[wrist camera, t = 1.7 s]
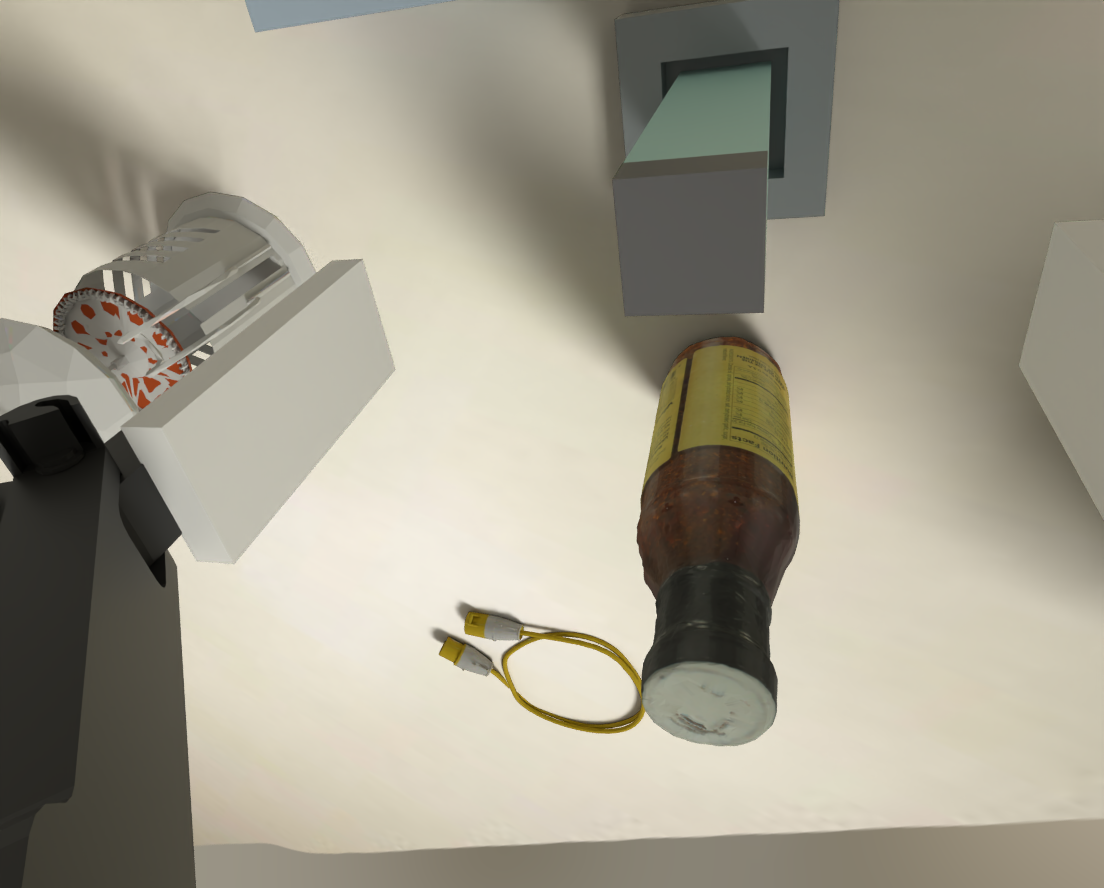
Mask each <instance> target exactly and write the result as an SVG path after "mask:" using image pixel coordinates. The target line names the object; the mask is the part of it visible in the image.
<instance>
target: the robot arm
mask: <svg viewBox="0 0 1104 888" xmlns="http://www.w3.org/2000/svg"><path fill="white" fill-rule="evenodd" d="M1019 367H1020V369H1021V371H1022V373H1023V375H1024V376H1025V378H1026V380H1027V382H1028V384H1029V386H1030V387H1031V389H1032V391H1033V393H1034V395H1035V397H1036V398H1037V400H1038V402H1039V404H1040V406H1041V407H1042V409H1043V411H1044V413H1045V415H1046V417H1047V418H1048V420H1049V422H1050V424H1051V426H1052V427H1053V429H1054V431H1055V433H1056V435H1057V437H1058V438H1059V440H1060V442H1061V444H1062V446H1063V448H1064V449H1065V451H1066V453H1067V455H1068V457H1069V458H1070V460H1071V462H1072V464H1073V466H1074V468H1075V469H1076V471H1077V473H1078V475H1079V477H1080V479H1081V480H1082V482H1083V484H1084V486H1085V488H1086V489H1087V491H1088V493H1089V495H1090V497H1091V499H1092V500H1093V502H1094V504H1095V506H1096V508H1097V510H1098V511H1099V513H1100V515H1101V517H1102V519H1103V520H1104V219H1103V220H1084V221H1065V222H1055V223H1054V227H1053V231H1052V235H1051V239H1050V243H1049V247H1048V251H1047V255H1046V259H1045V263H1044V267H1043V271H1042V275H1041V279H1040V283H1039V287H1038V291H1037V295H1036V299H1035V303H1034V307H1033V311H1032V315H1031V319H1030V323H1029V327H1028V331H1027V335H1026V339H1025V343H1024V347H1023V351H1022V355H1021V359H1020V363H1019ZM395 370H396V369H395V366H394V362H393V359H392V355H391V352H390V349H389V345H388V342H387V339H386V335H385V332H384V329H383V325H382V322H381V319H380V315H379V312H378V308H377V305H376V302H375V298H374V295H373V292H372V288H371V285H370V282H369V278H368V275H367V272H366V268H365V265H364V261H363V259H354V260H335V261H331V262H330V263H328V264H327V265H326V266H325V267H323V268H322V269H321V270H320V271H318V272H317V273H316V274H314V275H313V276H312V277H311V278H309V279H308V280H307V281H305V282H304V283H303V284H302V285H300V286H299V287H298V288H297V289H295V290H294V291H293V292H291V293H290V294H289V295H288V296H286V297H285V298H284V299H283V300H281V301H280V302H279V303H277V304H276V305H275V306H274V307H272V308H271V309H270V310H269V311H267V312H266V313H265V314H263V315H262V316H261V317H260V318H258V319H257V320H256V321H254V322H253V323H252V324H251V325H249V326H248V327H247V328H246V329H244V330H243V331H242V332H240V333H239V334H238V335H237V336H235V337H234V338H233V339H232V340H230V341H229V342H228V343H226V344H225V345H224V346H223V347H221V348H220V349H219V350H217V351H216V352H215V353H214V354H212V355H211V356H210V357H209V358H207V359H206V360H205V361H203V362H202V363H201V364H200V365H198V366H197V367H196V368H195V369H193V370H192V371H191V372H189V373H188V374H187V375H186V376H184V377H183V378H182V379H181V380H179V381H178V382H177V383H175V384H174V385H173V386H172V387H170V388H169V389H168V390H166V391H165V392H164V393H163V394H161V395H160V396H159V397H158V398H156V399H155V400H154V401H152V402H151V403H150V404H149V405H147V406H146V407H145V408H144V409H142V410H141V411H140V412H138V413H137V414H136V415H135V416H133V417H132V418H131V419H130V420H128V421H127V422H126V423H124V424H123V425H122V426H121V427H120V428H121V431H119V432H118V433H117V434H115V435H114V436H113V437H112V438H110V439H109V440H108V441H107V442H105V443H104V442H103V440H102V438H101V437H100V435H99V433H98V432H97V430H96V428H95V427H94V425H93V423H92V421H91V420H90V418H89V416H88V415H87V413H86V411H85V410H84V408H83V406H82V405H81V403H80V401H79V400H78V398H77V397H75V396H71V395H56V396H51V397H46V398H42V399H38V400H35V401H32V402H29V403H27V404H24V405H21V406H19V407H17V408H15V409H13V410H11V411H9V412H7V413H5V414H3V415H1V416H0V458H1V460H2V461H3V462H4V464H5V465H6V467H7V468H8V470H9V471H10V472H11V474H12V475H13V477H14V478H13V481H11V482H5V483H0V888H196V880H195V863H194V846H193V829H192V813H191V796H190V779H189V762H188V745H187V729H186V712H185V695H184V678H183V662H182V645H181V628H180V611H179V594H178V578H177V566H176V564H175V562H174V560H173V558H172V556H171V555H170V553H169V551H168V550H167V549H168V548H169V547H170V546H171V545H172V544H173V543H174V542H175V540H176V539H177V538H178V537H179V536H180V535H182V537H183V538H184V540H185V542H186V544H187V545H188V547H189V549H190V551H191V552H192V554H193V556H194V558H195V559H196V561H200V562H212V563H224V564H235V563H236V561H237V560H238V559H239V558H240V557H241V555H242V554H243V553H244V552H245V551H246V549H247V548H248V547H249V546H250V544H251V543H252V542H253V541H254V540H255V538H256V537H257V536H258V535H259V534H260V532H261V531H262V530H263V529H264V528H265V526H266V525H267V524H268V523H269V522H270V520H271V519H272V518H273V517H274V516H275V514H276V513H277V512H278V511H279V510H280V508H281V507H282V506H283V505H284V503H285V502H286V501H287V500H288V499H289V497H290V496H291V495H292V494H293V493H294V491H295V490H296V489H297V488H298V487H299V485H300V484H301V483H302V482H303V481H304V479H305V478H306V477H307V476H308V475H309V473H310V472H311V471H312V470H313V469H314V467H315V466H316V465H317V464H318V462H319V461H320V460H321V459H322V458H323V456H324V455H325V454H326V453H327V452H328V450H329V449H330V448H331V447H332V446H333V444H334V443H335V442H336V441H337V440H338V438H339V437H340V436H341V435H342V434H343V432H344V431H345V430H346V429H347V428H348V426H349V425H350V424H351V423H352V421H353V420H354V419H355V418H356V417H357V415H358V414H359V413H360V412H361V411H362V409H363V408H364V407H365V406H366V405H367V403H368V402H369V401H370V400H371V399H372V397H373V396H374V395H375V394H376V393H377V391H378V390H379V389H380V388H381V387H382V385H383V384H384V383H385V382H386V380H387V379H388V378H389V377H390V376H391V374H392V373H393V372H394V371H395Z"/></svg>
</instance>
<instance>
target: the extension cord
mask: <svg viewBox="0 0 1104 888" xmlns="http://www.w3.org/2000/svg"><path fill="white" fill-rule="evenodd" d="M464 630H465V634H468V635H473V636H477V637H482V638H486V639H491V640H493V641H496V640H518V641H520V640H521V638H522V636H523V635H524V636H530V637H532V638H529V639H527V640H525V641H523V642H521V643H519V644H517V645H516V646H514V647H513V648H511V649H510V650H509V651H508V652H507V653H506V654H505V656H504V658H503V661H502V666H503V671H504V674H505V677H506V679H507V682H508V683H507V682H506V680H505V679H504V677H503V676H501V675H500V674H499V673H498V672H497V671H495V670H494V669H492V667H493V662H491V661H490V660H489V659H488V658H486V657H485V656H484V655H483V654H481V653H480V652H479V651H477V650H476V649H475V648H473V647H471V646H469V645H467V644H465V643H464V644H462V643H460V642H458V641H456V640H454V639H452V638H450V637H448V638H447V641H445V642H444V644H443V646H442V648H441V650H440V652H439V655H440V656H442V657H444V658H446V659H448V660H450V661H452V662H454V665H456V666H458V667H460V668H461V669H463V671H464V669H465V670H467V671H470V672H473V673H477V674H481V675H485V676H488V675H489V673H490V672H491V673H492V674H493V675H495V676H496V677H497V678H498V679H499V680H500V681H502V682H503V683H504V684H505V685H506V686H507V687H508V688H510V689H511V691H512V694H513V696H514V697H515V699H516V700H517V702H518V703H519V704H521V705H522V706H523V707H524V708H526V709H527V710H528V711H530V712H532V713H533V714H535V715H537V716H539V717H541V718H543V719H545V720H548V721H550V722H553V723H555V724H558V725H561V726H564V727H568V728H572V729H576V730H580V731H585V732H592V733H606V734H610V733H620V732H624V731H627V730H630V729H631V728H633V727H635V726H636V725H637V724H638V723H639V722H640V721H641V719H642V718H643V716H644V713H645V708H644V706H643V704H642V696H641V682H642V680H641V678H640V677H639V675H638V673H637V672H636V670H635V669H634V668H633V666H632V665H631V664H630V662H629V661H628V660H627V659H626V658H625V656H624V655H623V654H622V653H621V652H620V651H619V650H618V649H616V648H615V647H614V646H612V645H611V644H609V643H607V642H605V641H603V640H601V639H598V638H596V637H593V636H589V635H585V634H580V633H572V632H554V633H547V634H541V633H535V632H529V631H524V627H523V625H522V624H521V625H520V624H518V623H516V622H514V621H511V620H508V619H505V618H502V617H499V616H494V615H488V614H482V613H476V612H469V613H468V615H467V617H466V620H465V626H464ZM565 637H576V638H582V639H586V640H590V641H593V642H596V643H598V644H601V645H603V646H605V647H607V648H608V649H610V650H611V651H613V652H614V653H615V654H617V655H618V656H619V657H618V656H616V655H615V654H614V653H612V652H611V651H609V650H607V649H605V648H602V647H600V646H598V645H595V644H591V643H588V642H584V641H580V640H575V639H570V638H565ZM540 639H548V640H554V641H561V642H566V643H571V644H576V645H581V646H584V647H588V648H591V649H595V650H597V651H599V652H602V653H604V654H606V655H608V656H610V657H611V658H612V659H614V660H615V661H616V662H618V663H619V664H620V665H621V666H622V668H623V669H624V670H625V671H626V672H627V673H628V675H629V676H630V677H631V679H632V680H633V682H634V683H635V685H636V687H637V689H638V691H639V694H640V697H641V709H640V711H639V712H638V713H637V714H636V715H634V716H633V717H631V718H629V719H626V720H623V721H620V722H616V723H611V724H586V723H580V722H576V721H572V720H569V719H566V718H563V717H560V716H557V715H555V714H552V713H549V712H547V711H544V710H542V709H539V708H537V707H535V706H533V705H531V704H530V703H529V702H528V701H527V700H525V699H524V698H523V697H522V696H521V695H520V694H519V693H518V692H516V690H515V688H514V685H513V683H512V681H511V678H510V675H509V672H508V669H507V659H508V658H509V656H510V655H511V654H512V653H514V652H515V651H517V650H518V649H520V648H521V647H523V646H525V645H527V644H529V643H531V642H534V641H537V640H540ZM517 693H518V694H517ZM518 695H519V696H520V697H519V696H518ZM543 713H544V714H543ZM545 714H546V715H545ZM547 715H549V716H551V717H549V716H547ZM552 717H554V718H552ZM555 718H556V719H555ZM557 719H559V720H557ZM560 720H561V721H560ZM563 721H564V722H563ZM566 722H567V723H566ZM631 722H632V723H631ZM629 723H631V724H629ZM626 724H629V725H627V726H624V727H621V728H615V727H619V726H623V725H626ZM608 728H614V729H608Z"/></svg>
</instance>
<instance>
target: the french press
mask: <svg viewBox="0 0 1104 888" xmlns="http://www.w3.org/2000/svg"><path fill="white" fill-rule="evenodd" d="M163 237H164V241H157V240H158V239H159V238H163ZM156 246H163V250H156ZM142 247H148V249H147V250H144V251H140V248H142ZM125 256H130V261H122V257H125ZM140 256H147V261H144V260H140ZM156 256H159V257H164V262H157V258H156ZM103 270H112V274H113V282H114V289H115V292H110V291H105V288H104V281H103ZM123 271H125V272H128V273H131V275H132V284H133V292H134V299H135V301H133V300H131V299H129V298H128V297H126V294H125V286H124V278H123ZM314 274H316V271H315V269H314V267H313V265H312V263H311V261H310V259H309V257H308V255H307V253H306V251H305V249H304V247H303V245H302V244H301V243H300V242H299V241H298V240H297V239H296V238H295V236H294V235H293V234H292V233H291V232H290V231H289V230H288V229H287V228H286V227H285V226H284V225H283V224H282V222H281V221H280V220H279V219H278V218H277V217H276V216H274V215H273V214H271V213H269V212H267V211H266V210H264V209H262V208H260V207H259V206H257V205H255V204H254V203H252V202H250V201H248V200H247V199H245V198H243V197H238V196H232V195H226V194H220V193H214V192H209V193H206V194H203V195H200V196H197V197H194V198H191V199H188V200H184V202H183V203H182V204H181V205H180V207H179V208H178V209H177V211H176V212H175V213H174V214H173V216H172V217H171V218H170V220H169V221H168V227H167V232H166V233H165V235H161V236H158V237H156V238H154V239H152V240H150V241H149V243H147V244H144V245H141V246H139V247H137V248H135V249H134V250H132V251H131V252H130V253H127V254H124V255H121V256H119V257H118V258H116V259H114V260H113V262H111V263H108V264H105V265H102V266H100V267H98V268H96V269H94V270H92V271H91V272H89V273H87V274H85V275H83V276H82V278H81V280H80V281H79V283H78V285H77V286H76V288H75V290H74V291H72V292H69V293H65V294H64V296H63V297H62V299H61V300H60V301H59V303H58V304H57V306H56V307H55V309H54V311H53V331H52V330H50V329H48V328H45V327H41V326H37V325H32V324H28V323H23V322H18V321H14V320H9V319H4V318H1V319H0V416H1V415H3V414H5V413H7V412H9V411H11V410H13V409H15V408H17V407H19V406H21V405H24V404H27V403H29V402H32V401H35V400H38V399H42V398H46V397H51V396H56V395H71V396H75V397H77V398H78V400H79V401H80V403H81V405H82V406H83V408H84V410H85V411H86V413H87V415H88V416H89V418H90V420H91V421H92V423H93V425H94V427H95V428H96V430H97V432H98V433H99V435H100V437H101V438H102V440H103V442H104V443H105V442H107V441H108V440H109V439H110V438H112V437H113V436H114V435H115V434H117V433H118V432H119V431H121V428H120V427H121V426H122V425H123V424H124V423H126V422H127V421H128V420H130V419H131V418H132V417H133V416H135V415H136V414H137V413H138V412H140V411H141V410H142V409H144V408H145V407H146V406H147V405H149V404H150V403H151V402H152V401H154V400H155V399H156V398H158V397H159V396H160V395H161V394H163V393H164V392H165V391H166V390H168V389H169V388H170V387H172V386H173V385H174V384H175V383H177V382H178V381H179V380H181V379H182V378H183V377H184V376H186V375H187V374H188V373H189V372H191V371H192V367H191V364H193V365H195V366H198V365H200V364H201V363H202V362H203V361H205V360H203V359H201V358H198V357H196V356H193V355H192V354H194V353H195V352H196V351H198V350H199V351H201V352H204V353H206V354H209V355H212V354H214V353H215V352H216V351H217V350H219V349H220V348H221V347H223V346H224V345H225V344H226V343H228V342H229V341H230V340H232V339H233V338H234V337H235V336H237V335H238V334H239V333H240V332H242V331H243V330H244V329H246V328H247V327H248V326H249V325H251V324H252V323H253V322H254V321H256V320H257V319H258V318H260V317H261V316H262V315H263V314H265V313H266V312H267V311H269V310H270V309H271V308H272V307H274V306H275V305H276V304H277V303H279V302H280V301H281V300H283V299H284V298H285V297H286V296H288V295H289V294H290V293H291V292H293V291H294V290H295V289H297V288H298V287H299V286H300V285H302V284H303V283H304V282H305V281H307V280H308V279H309V278H311V277H312V276H313V275H314ZM141 277H143V278H144V279H146V280H148V281H150V288H151V293H150V294H149V295H147V296H145V297H144V293H143V286H142V278H141ZM209 342H210V343H211V345H212V347H211V346H208V345H206V344H207V343H209Z"/></svg>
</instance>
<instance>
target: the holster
mask: <svg viewBox="0 0 1104 888" xmlns="http://www.w3.org/2000/svg"><path fill="white" fill-rule="evenodd" d="M838 14H839V0H718V1H712V2H705V3H698V4H691V5H684V6H677V7H670V8H663V9H656V10H649V11H642V12H635V13H628V14H623V15H621V16H620V17H618V18H616V19H615V31H616V44H617V56H618V69H619V81H620V94H621V106H622V118H623V131H624V143H625V156H626V157H627V156H628V154H629V153H630V151H631V150H632V148H633V146H634V145H635V143H636V142H637V140H638V139H639V137H640V135H641V134H642V132H643V131H644V129H645V127H646V126H647V124H648V123H649V121H650V120H651V118H652V116H653V115H654V113H655V112H656V110H657V109H658V107H659V105H660V104H661V102H662V101H663V99H664V98H665V96H666V94H667V93H668V91H669V90H670V88H671V86H672V85H673V83H674V82H675V80H676V79H677V77H678V75H679V74H680V72H682V71H690V70H698V69H707V68H715V67H724V66H732V65H741V64H749V63H757V62H766V61H771V94H770V134H769V169H768V199H767V219H784V218H800V217H817V216H825V202H826V188H827V173H828V159H829V144H830V130H831V115H832V101H833V86H834V72H835V57H836V43H837V28H838Z"/></svg>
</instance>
